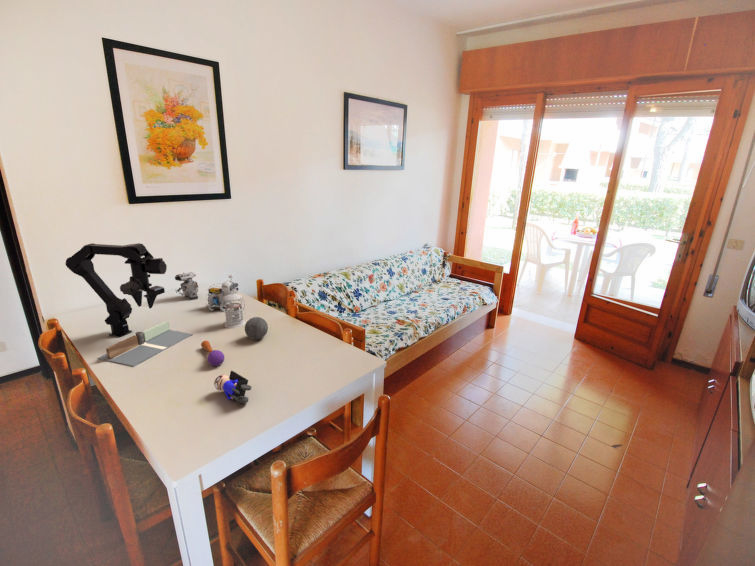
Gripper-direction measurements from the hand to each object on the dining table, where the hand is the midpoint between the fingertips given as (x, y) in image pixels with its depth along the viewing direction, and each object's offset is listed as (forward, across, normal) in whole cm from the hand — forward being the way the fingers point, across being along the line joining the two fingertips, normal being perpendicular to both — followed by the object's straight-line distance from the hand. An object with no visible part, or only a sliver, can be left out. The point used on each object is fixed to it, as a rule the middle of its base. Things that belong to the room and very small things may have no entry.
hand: (145, 307), depth 162 cm
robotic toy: (+13, +9, +39) cm, 42 cm away
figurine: (+13, -19, +44) cm, 50 cm away
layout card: (+13, +9, -9) cm, 18 cm away
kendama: (+13, +40, -8) cm, 43 cm away
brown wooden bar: (+13, +5, -15) cm, 20 cm away
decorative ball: (+13, +47, +13) cm, 51 cm away
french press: (+13, +28, +24) cm, 39 cm away
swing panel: (+12, +5, -1) cm, 13 cm away
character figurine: (+13, +65, -28) cm, 72 cm away
